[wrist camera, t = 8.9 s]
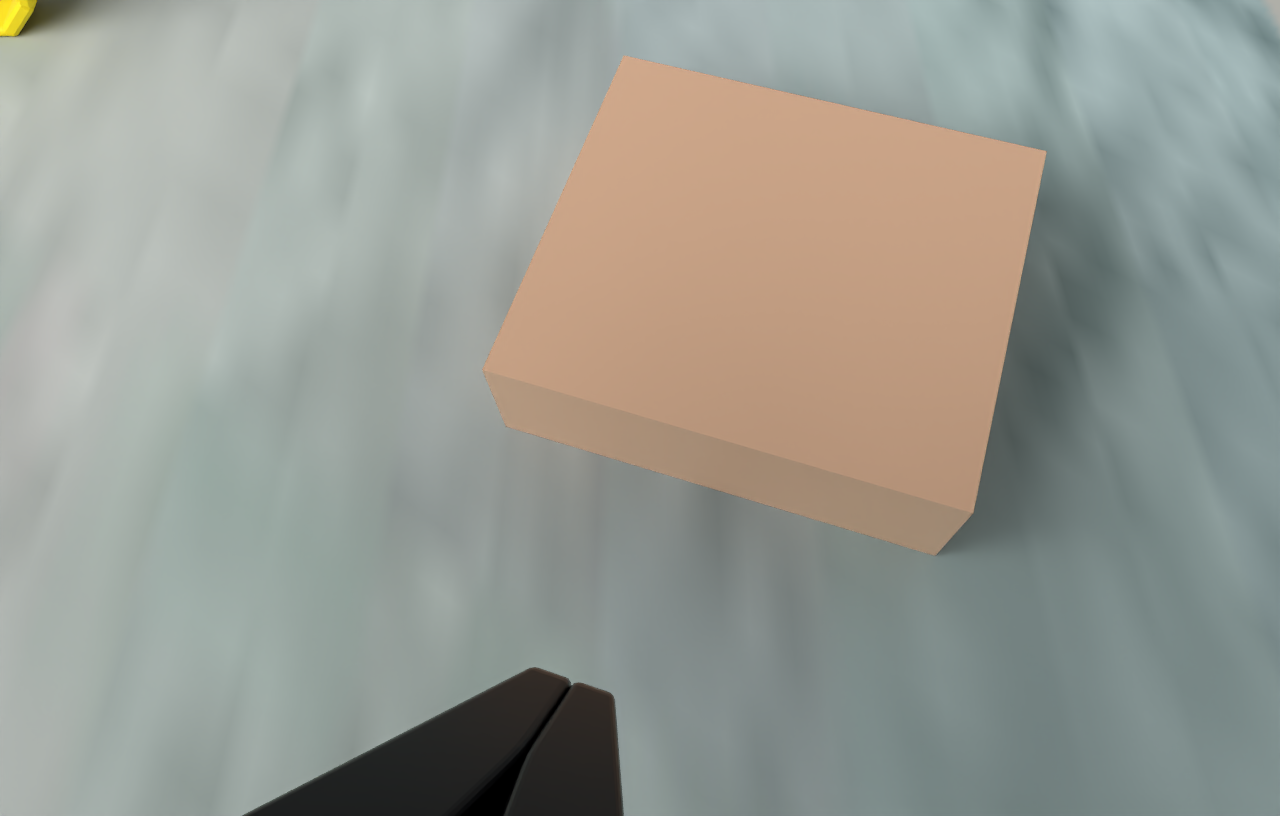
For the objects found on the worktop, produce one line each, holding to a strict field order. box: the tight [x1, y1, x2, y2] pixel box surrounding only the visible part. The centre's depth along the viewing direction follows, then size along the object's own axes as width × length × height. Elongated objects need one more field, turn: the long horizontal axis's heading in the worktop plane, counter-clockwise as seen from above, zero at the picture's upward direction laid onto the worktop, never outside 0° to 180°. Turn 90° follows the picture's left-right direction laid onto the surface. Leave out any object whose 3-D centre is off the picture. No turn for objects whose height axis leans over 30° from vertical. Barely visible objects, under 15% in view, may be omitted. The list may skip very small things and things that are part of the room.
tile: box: [482, 56, 1047, 556], centre depth 20 cm, size 3×9×8 cm
